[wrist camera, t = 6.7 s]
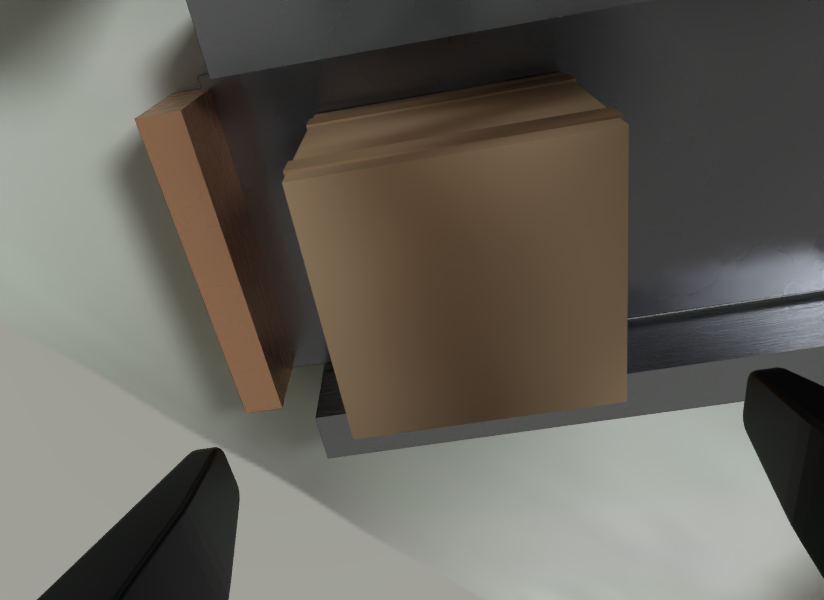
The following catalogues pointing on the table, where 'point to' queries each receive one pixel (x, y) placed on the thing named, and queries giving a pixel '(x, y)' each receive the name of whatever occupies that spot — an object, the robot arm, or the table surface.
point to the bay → (499, 62)
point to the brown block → (468, 252)
